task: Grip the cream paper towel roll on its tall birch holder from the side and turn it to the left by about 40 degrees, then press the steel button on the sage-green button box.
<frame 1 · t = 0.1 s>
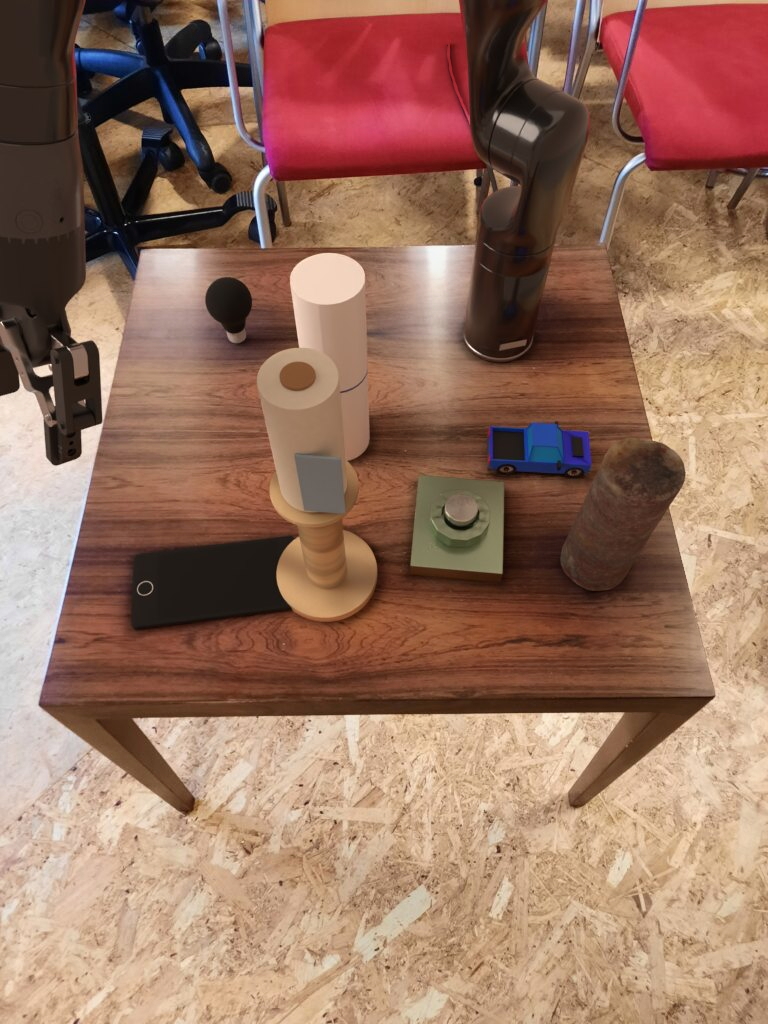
hand: (32, 424, 52), 31 cm above the table, tool tilted 20°, fingers open, 8 cm apart
cell phone: (217, 584, 81), on the table, touching towel holder
toy car: (535, 461, 89), on the table
button: (460, 511, 80), point 4 cm above the table, slide at 0.1 cm
light bulb: (238, 342, 100), on the table
towel roll: (308, 436, 59), point 25 cm above the table, hinge at 0.0°
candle: (590, 567, 82), on the table
towel holder: (327, 575, 81), on the table
cylindrical container: (340, 439, 91), on the table
button box: (457, 531, 84), on the table
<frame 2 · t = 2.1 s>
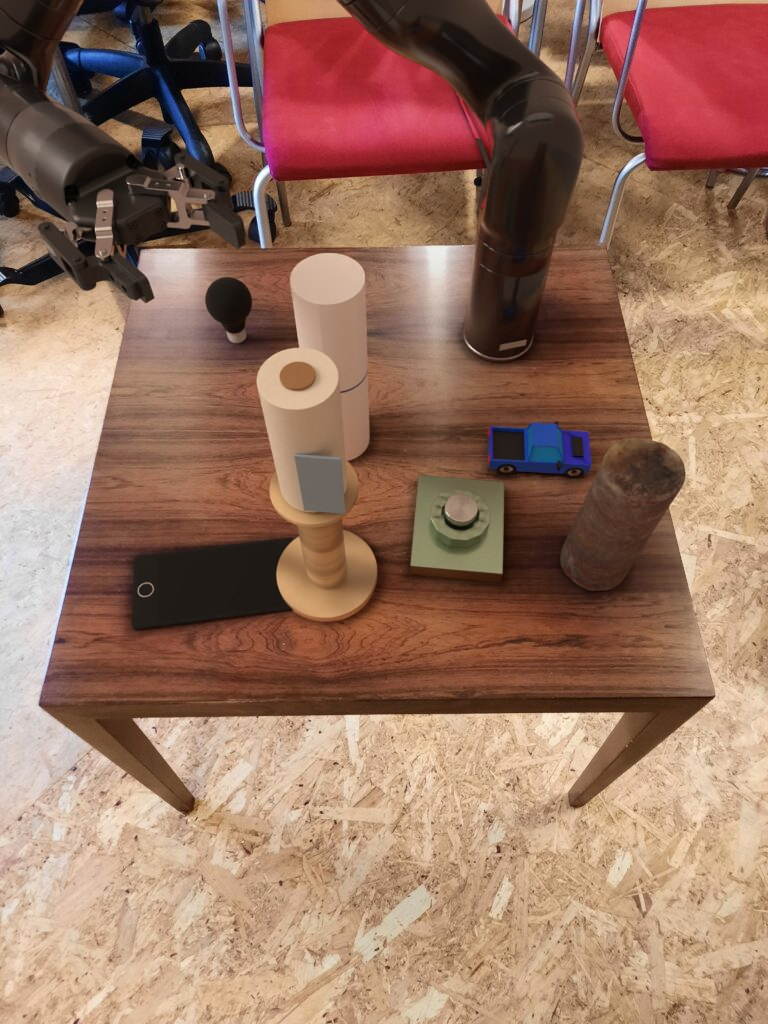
hand: (196, 263, 54), 36 cm above the table, tool horizontal, fingers open, 8 cm apart
cell phone: (218, 585, 81), on the table
everything else where it was.
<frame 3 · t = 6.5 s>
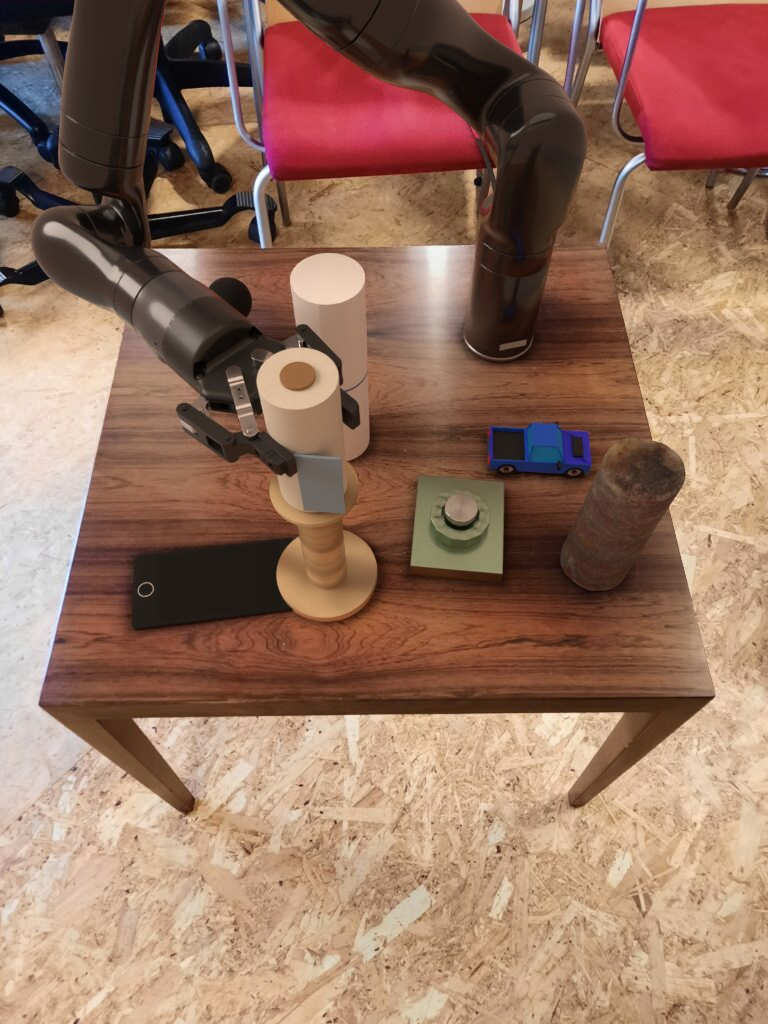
hand: (325, 443, 58), 26 cm above the table, tool horizontal, fingers closed on towel roll, 6 cm apart
towel roll: (308, 436, 59), point 25 cm above the table, hinge at -0.2°, touching gripper
everything else where it was.
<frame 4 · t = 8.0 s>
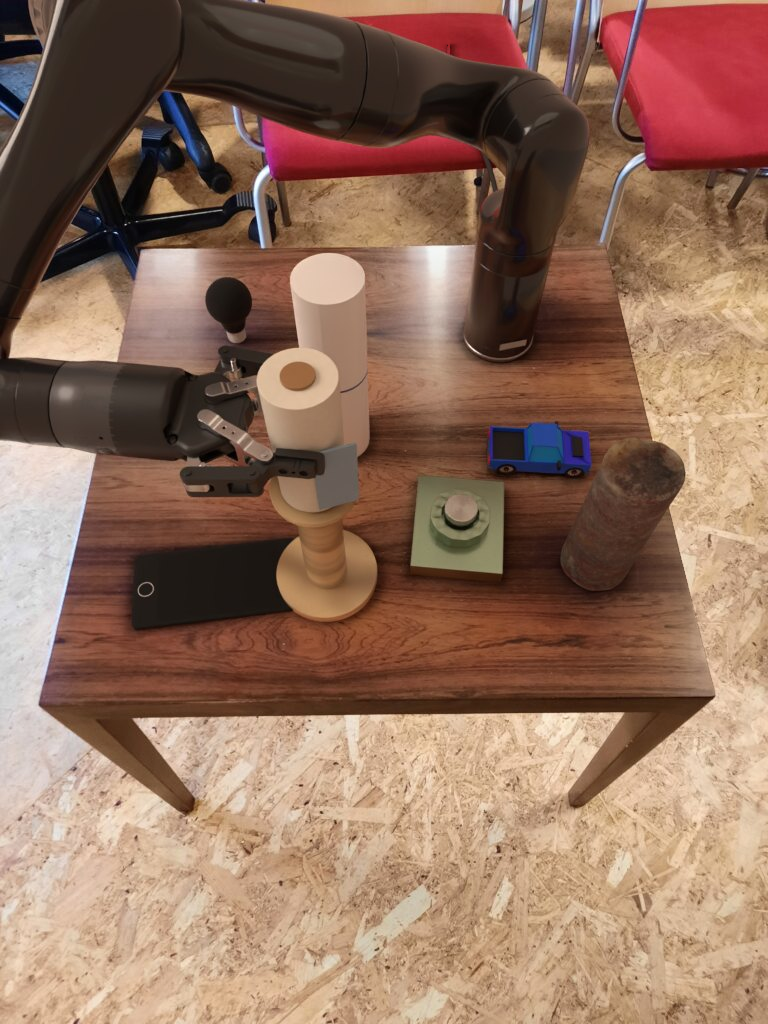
hand: (330, 429, 58), 26 cm above the table, tool horizontal, fingers closed on towel roll, 6 cm apart
towel roll: (308, 435, 59), point 25 cm above the table, hinge at 23.7°, touching gripper
everything else where it was.
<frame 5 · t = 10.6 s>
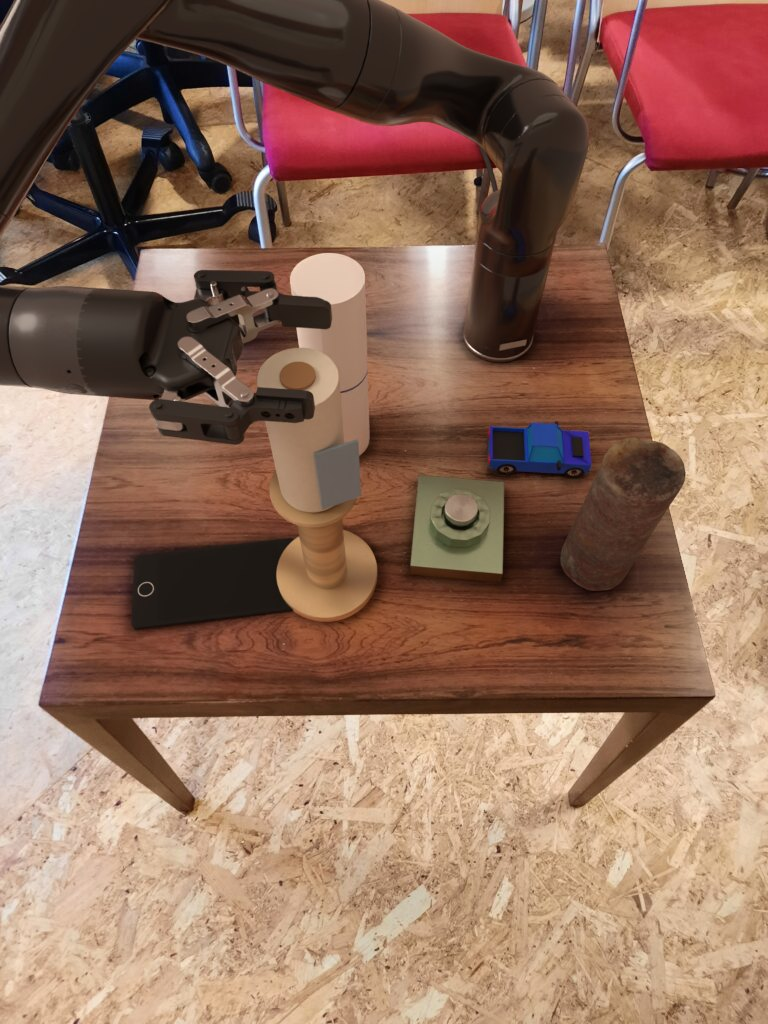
hand: (322, 358, 51), 35 cm above the table, tool horizontal, fingers open, 8 cm apart
towel roll: (308, 435, 59), point 25 cm above the table, hinge at 27.8°
everything else where it was.
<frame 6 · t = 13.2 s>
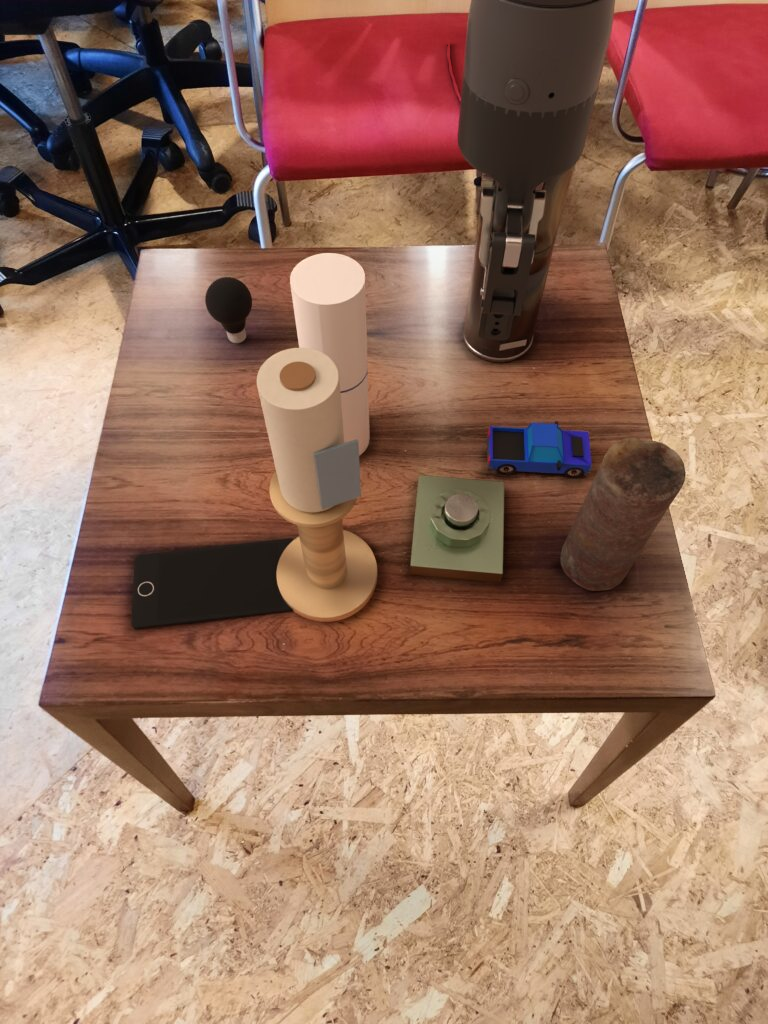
hand: (494, 298, 54), 35 cm above the table, tool pointing down, fingers open, 7 cm apart
nothing on the table moved.
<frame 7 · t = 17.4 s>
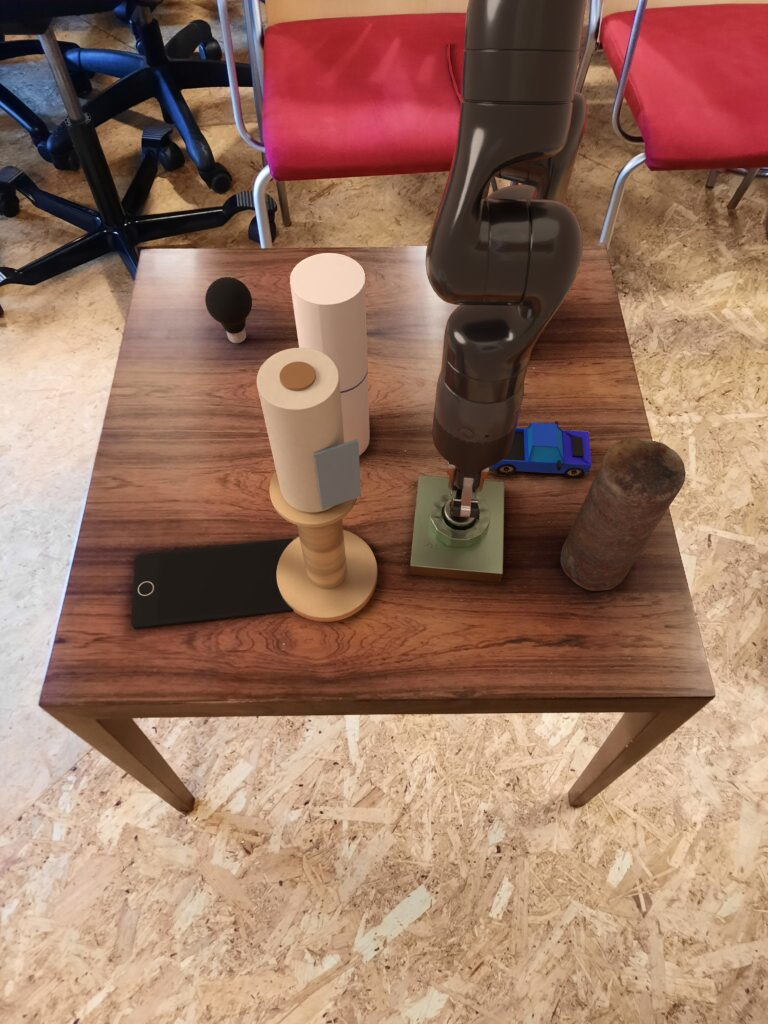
hand: (459, 509, 80), 5 cm above the table, tool pointing down, fingers closed
button: (460, 513, 80), point 4 cm above the table, slide at -0.3 cm, touching gripper
everything else where it was.
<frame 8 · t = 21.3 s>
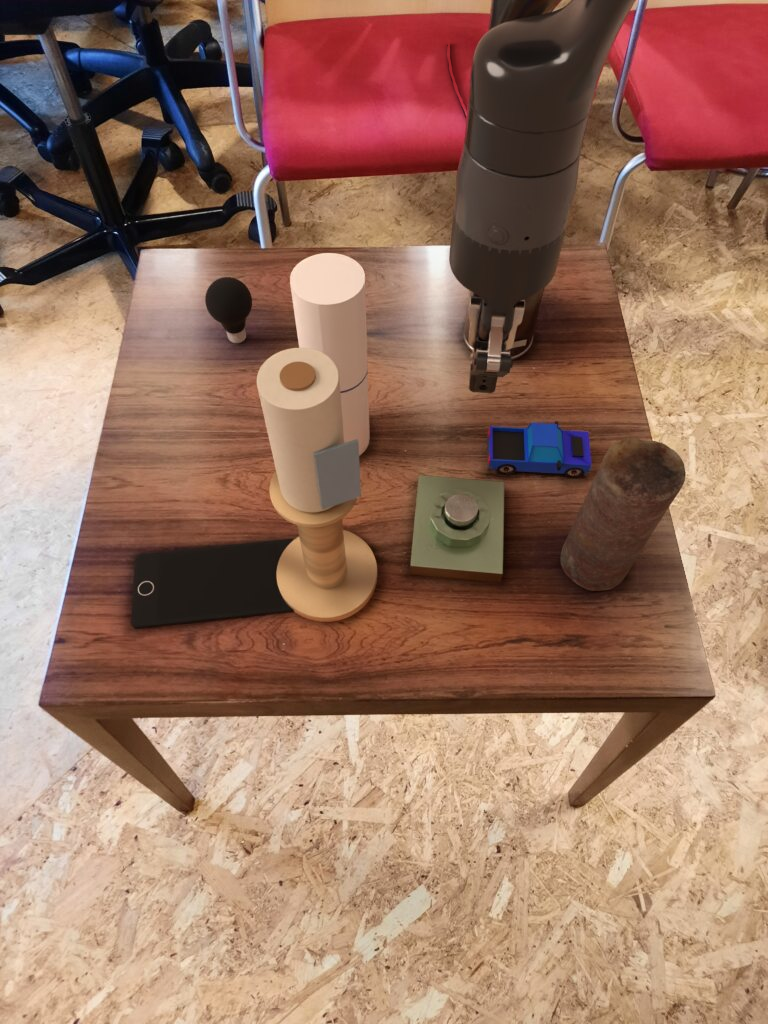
hand: (481, 385, 63), 25 cm above the table, tool pointing down, fingers closed
button: (460, 511, 80), point 4 cm above the table, slide at 0.1 cm
everything else where it was.
at the end: towel roll at +28° (first picture: +0°); button pushed in 1.1 cm at the most during the clip, back to where it started at the end; button slide at 0.1 cm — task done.
